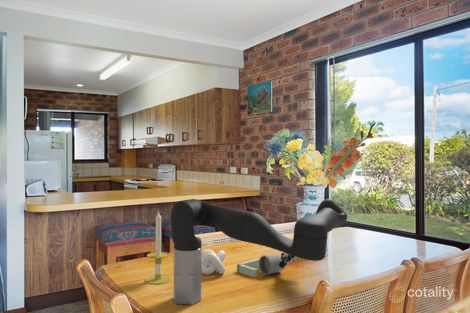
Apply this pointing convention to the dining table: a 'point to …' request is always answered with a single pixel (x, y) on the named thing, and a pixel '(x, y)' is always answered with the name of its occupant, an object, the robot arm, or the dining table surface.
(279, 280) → the dining table surface
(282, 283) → the dining table surface
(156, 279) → the candle
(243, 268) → the u-shaped bracket
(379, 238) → the dining table surface
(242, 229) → the robot arm
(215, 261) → the white knot sculpture
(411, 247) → the dining table surface
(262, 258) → the ceramic mug
